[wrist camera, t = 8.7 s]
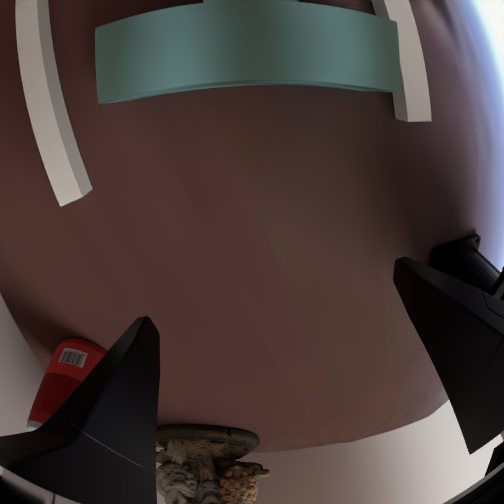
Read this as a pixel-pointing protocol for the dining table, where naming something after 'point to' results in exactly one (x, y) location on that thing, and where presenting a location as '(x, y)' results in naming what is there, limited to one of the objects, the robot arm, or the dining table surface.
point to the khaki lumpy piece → (206, 465)
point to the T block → (245, 49)
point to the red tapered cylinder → (63, 377)
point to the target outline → (56, 117)
